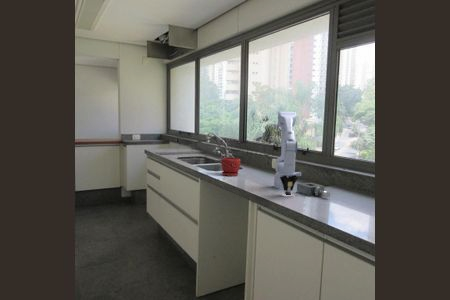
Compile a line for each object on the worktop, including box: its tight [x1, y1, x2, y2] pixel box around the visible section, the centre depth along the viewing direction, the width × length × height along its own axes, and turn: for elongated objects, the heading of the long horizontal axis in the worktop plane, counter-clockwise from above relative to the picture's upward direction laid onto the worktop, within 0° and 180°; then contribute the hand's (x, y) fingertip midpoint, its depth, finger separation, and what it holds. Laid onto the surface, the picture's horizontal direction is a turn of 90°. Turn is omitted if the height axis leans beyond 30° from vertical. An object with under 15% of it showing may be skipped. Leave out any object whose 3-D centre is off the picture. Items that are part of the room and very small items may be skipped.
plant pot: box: [221, 157, 241, 177], centre depth 222 cm, size 13×13×12 cm
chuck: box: [296, 182, 331, 198], centre depth 167 cm, size 18×10×5 cm, turn 26°
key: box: [284, 181, 292, 195], centre depth 165 cm, size 3×3×7 cm
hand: (288, 190), depth 165 cm, fingers closed on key, 3 cm apart
